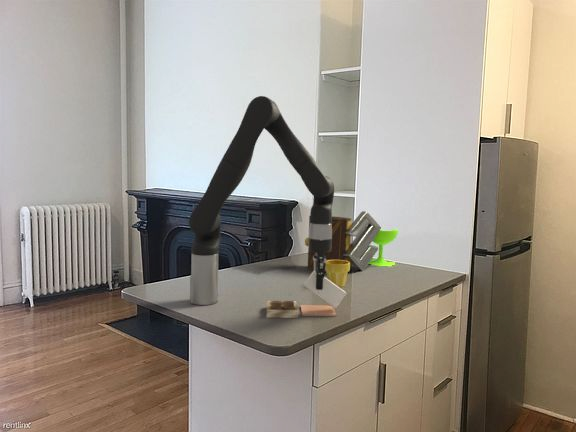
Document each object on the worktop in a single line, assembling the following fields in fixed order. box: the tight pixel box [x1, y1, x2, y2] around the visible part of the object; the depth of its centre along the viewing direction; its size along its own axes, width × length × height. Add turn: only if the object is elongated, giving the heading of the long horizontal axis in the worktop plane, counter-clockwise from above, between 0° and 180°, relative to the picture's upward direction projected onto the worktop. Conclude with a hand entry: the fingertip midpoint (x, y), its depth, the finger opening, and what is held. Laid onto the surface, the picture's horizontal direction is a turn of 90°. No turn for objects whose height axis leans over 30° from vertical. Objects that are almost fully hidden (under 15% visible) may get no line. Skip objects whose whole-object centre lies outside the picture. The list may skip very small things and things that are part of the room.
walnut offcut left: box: [270, 300, 282, 310], centre depth 159 cm, size 3×2×4 cm
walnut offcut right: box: [283, 300, 294, 310], centre depth 159 cm, size 3×2×4 cm
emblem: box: [343, 210, 382, 272], centre depth 228 cm, size 28×5×28 cm, turn 141°
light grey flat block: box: [303, 269, 347, 309], centre depth 163 cm, size 6×2×13 cm
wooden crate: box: [304, 215, 352, 273], centre depth 228 cm, size 22×8×25 cm, turn 58°
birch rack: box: [266, 300, 299, 319], centre depth 161 cm, size 10×11×2 cm
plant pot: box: [325, 260, 351, 288], centre depth 200 cm, size 10×10×10 cm
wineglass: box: [369, 228, 399, 267], centre depth 245 cm, size 16×16×18 cm
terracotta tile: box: [300, 304, 337, 317], centre depth 164 cm, size 11×10×1 cm
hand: (318, 288), depth 163 cm, fingers closed on light grey flat block, 2 cm apart
